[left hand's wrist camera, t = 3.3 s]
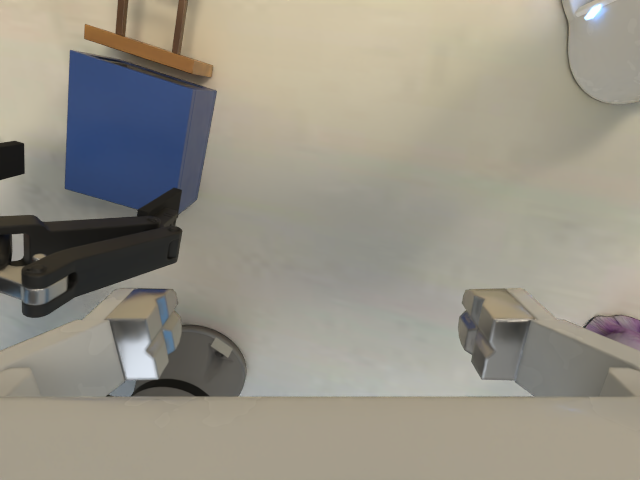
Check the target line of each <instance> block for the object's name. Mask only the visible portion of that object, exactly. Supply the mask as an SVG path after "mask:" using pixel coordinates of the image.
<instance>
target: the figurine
mask: <svg viewBox="0 0 640 480" xmlns="http://www.w3.org/2000/svg"><path fill="white" fill-rule="evenodd" d="M585 329H587V330H590V331H592V332H595V333H597V334H600V335H602V336H605V337H607V338H609V339H612V340H614V341H617V342H619V343H622V344H624V345H626V346H629V347H631V348H634V349H636V350H639V351H640V320H637V319H634V318H631V317H627V316H623V315H620V316H613V317H604V316H600V317H596V318H594V319H593V320H592V321H591V322H590V323H589V324H588V325H587V326H586V327H585Z"/></svg>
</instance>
